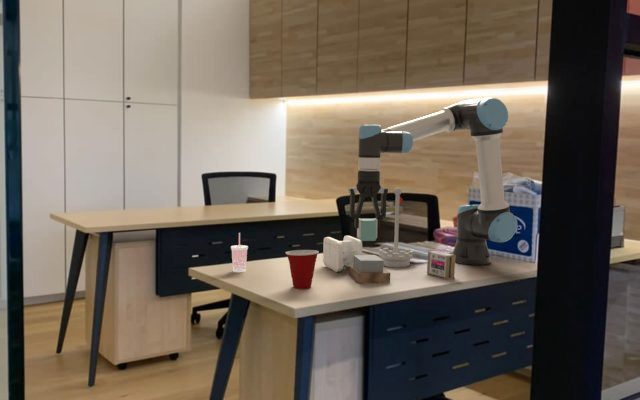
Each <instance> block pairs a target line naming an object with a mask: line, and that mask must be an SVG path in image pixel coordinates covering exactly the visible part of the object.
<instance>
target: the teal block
mask: <svg viewBox="0 0 640 400" xmlns="http://www.w3.org/2000/svg"><path fill="white" fill-rule="evenodd" d="M360 219H361V238H358V237H357V239H359V240H361V242H375V241H377V238H376V220H374V219H373V218H360Z"/></svg>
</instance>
